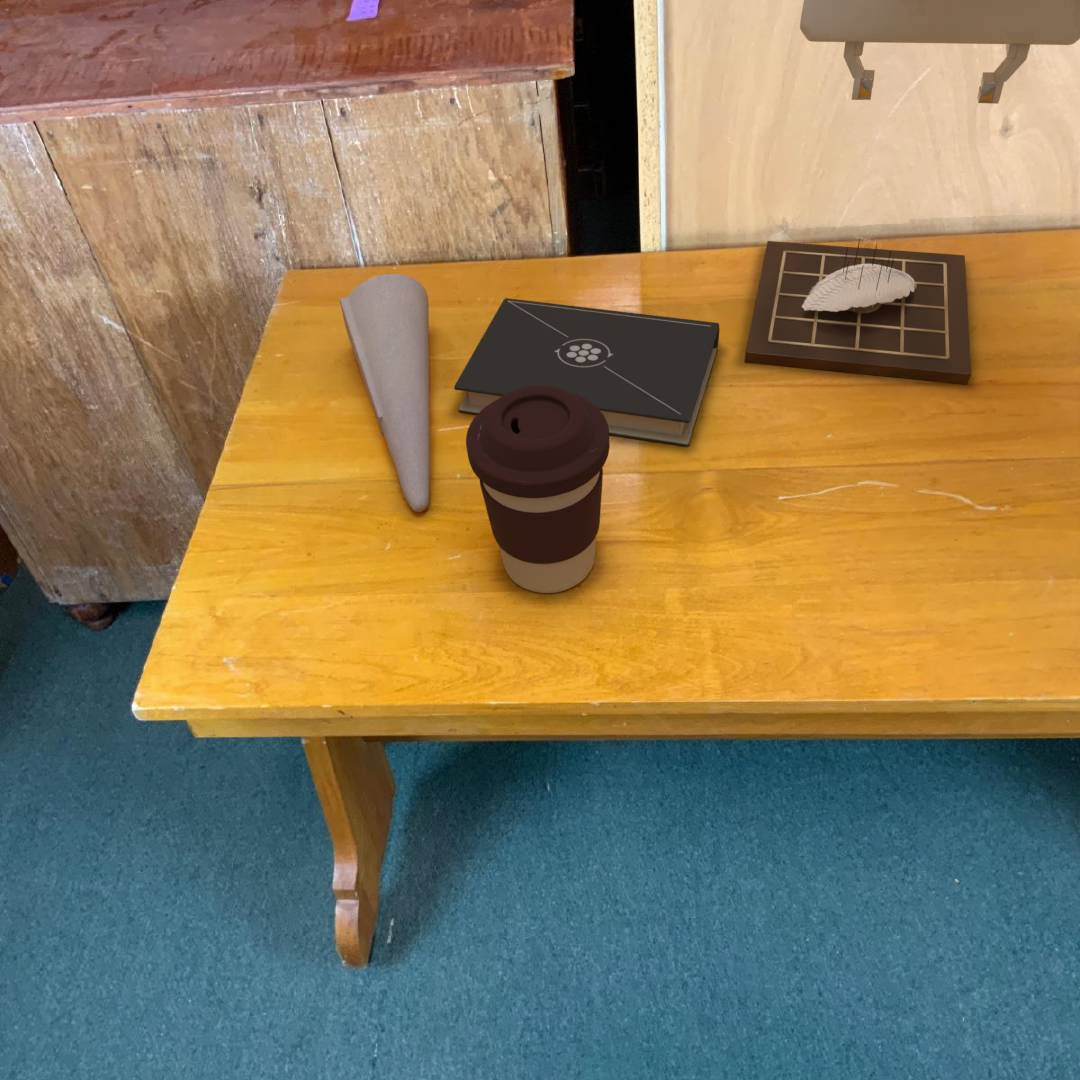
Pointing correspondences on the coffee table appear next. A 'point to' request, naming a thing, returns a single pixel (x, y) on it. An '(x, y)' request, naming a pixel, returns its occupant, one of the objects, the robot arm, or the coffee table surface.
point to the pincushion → (859, 287)
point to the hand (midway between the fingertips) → (923, 99)
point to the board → (863, 316)
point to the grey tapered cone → (396, 371)
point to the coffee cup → (541, 482)
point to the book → (598, 364)
